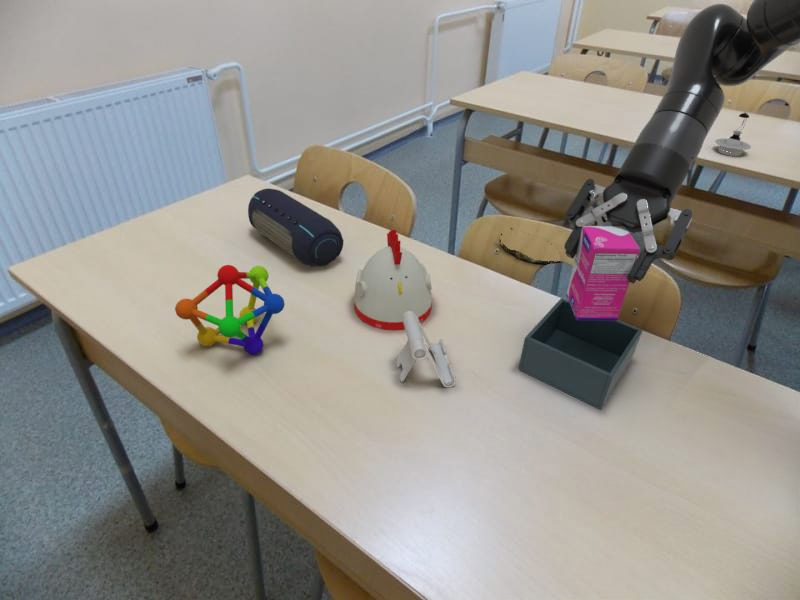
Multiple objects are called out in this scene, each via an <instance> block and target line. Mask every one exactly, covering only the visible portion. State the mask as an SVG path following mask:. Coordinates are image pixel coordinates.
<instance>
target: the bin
mask: <svg viewBox="0 0 800 600" xmlns="http://www.w3.org/2000/svg"><path fill="white" fill-rule="evenodd" d="M642 333H643V329H642V328H639V327H637V326H634V325H632V324H629V323H626V322H624V321H621V320H619V319H618V320H617V321H595V320H576V319H575V316H574V313H573V310H572V307H571V305H570V302H569V300H568V299H565V298H563V297H561V298H560V299H559V300H558V301H557V302H556V303H555V304H554V305H553V306H552V307H551V309H549V311H548V312H547V313H546V314H545V315H544V316H543V317H542V318H541V319H540V321H539V322H538V323H537V324H536V325H535V326H534V327H533V328H532V330H531V331H529V333H527V335H526V336H525V337H524V340H523V341H524V342H523V345H522V349H521V354H520V359H519V363H518V369H517V370H519V371H521V372H522V373H525V374H526V375H528V376H531V377H533V378H535V379H537V380H539V381H541V382H543V383H545V384H547V385H549V386H551V387H553V388H556V389H557V390H559V391H562V392H563V393H565V394H568V395H569V396H572V397H574V398H575V399H578V400H580V401H582V402H584V403H586V404H588V405H590V406H592V407H594V408H596V409H598V410H600V411H602V409H603V407H604V406H605V404H606V402H607V401H608V399H609V398H610V396H611V394H612V393H613V391H614V389H615V388H616V386H617V385H618V383H619V381H620V380H621V378H622V377H623V375H624V374H625V372H626V370H627V368H628V367H629V365H630V364H631V362H632V360H633V357H634V355H635V352H636V349H637V347H638V344H639V342H640V339H641V336H642Z"/></svg>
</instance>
